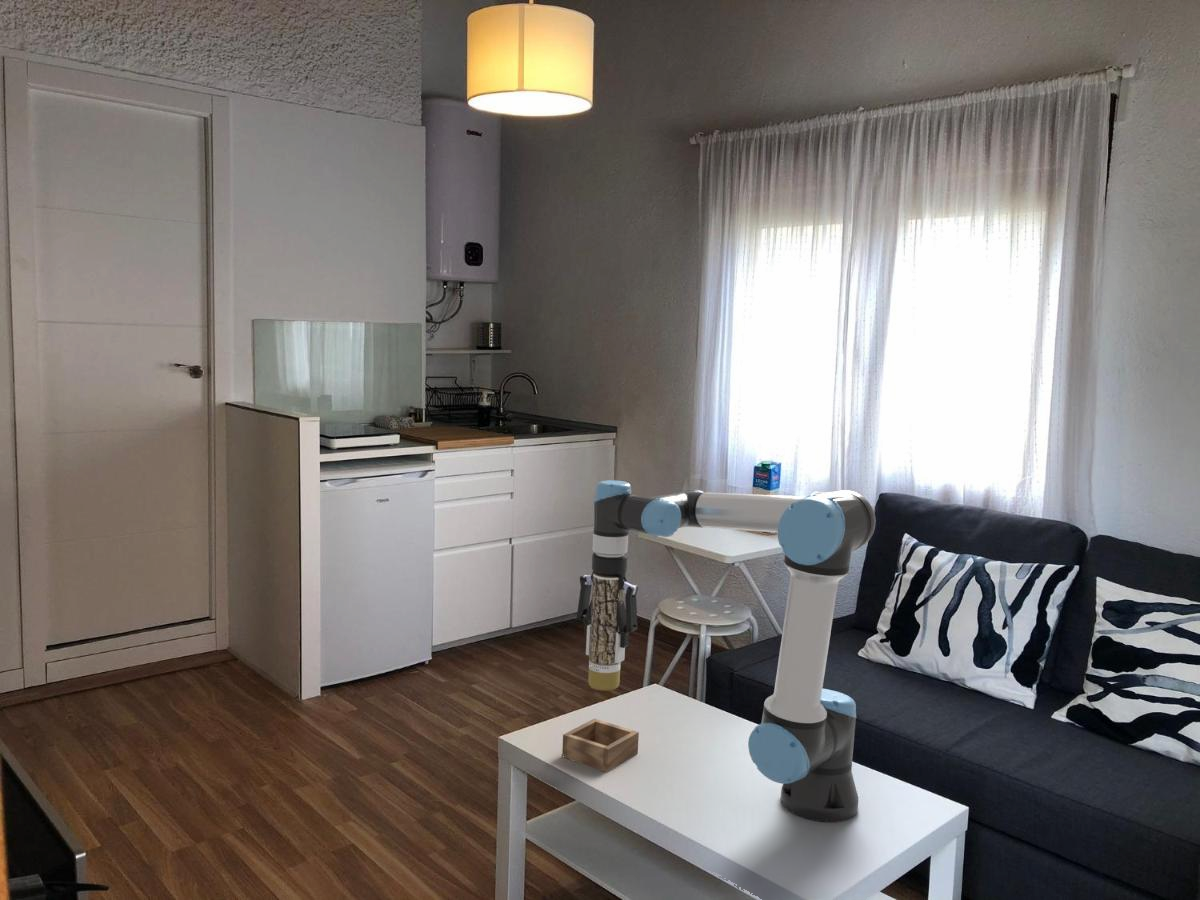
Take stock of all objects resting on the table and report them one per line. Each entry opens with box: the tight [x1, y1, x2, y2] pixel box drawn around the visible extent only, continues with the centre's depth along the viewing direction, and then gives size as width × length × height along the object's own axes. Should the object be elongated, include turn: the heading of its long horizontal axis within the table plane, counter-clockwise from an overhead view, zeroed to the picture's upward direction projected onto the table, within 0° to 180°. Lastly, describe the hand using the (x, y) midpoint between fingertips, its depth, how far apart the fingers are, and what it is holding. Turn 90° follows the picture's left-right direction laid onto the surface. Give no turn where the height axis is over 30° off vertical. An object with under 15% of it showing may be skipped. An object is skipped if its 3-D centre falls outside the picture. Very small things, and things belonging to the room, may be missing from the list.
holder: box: [561, 718, 640, 773], centre depth 220 cm, size 12×12×5 cm
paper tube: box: [587, 571, 625, 692], centre depth 217 cm, size 7×7×25 cm
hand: (605, 657), depth 218 cm, fingers closed on paper tube, 7 cm apart
